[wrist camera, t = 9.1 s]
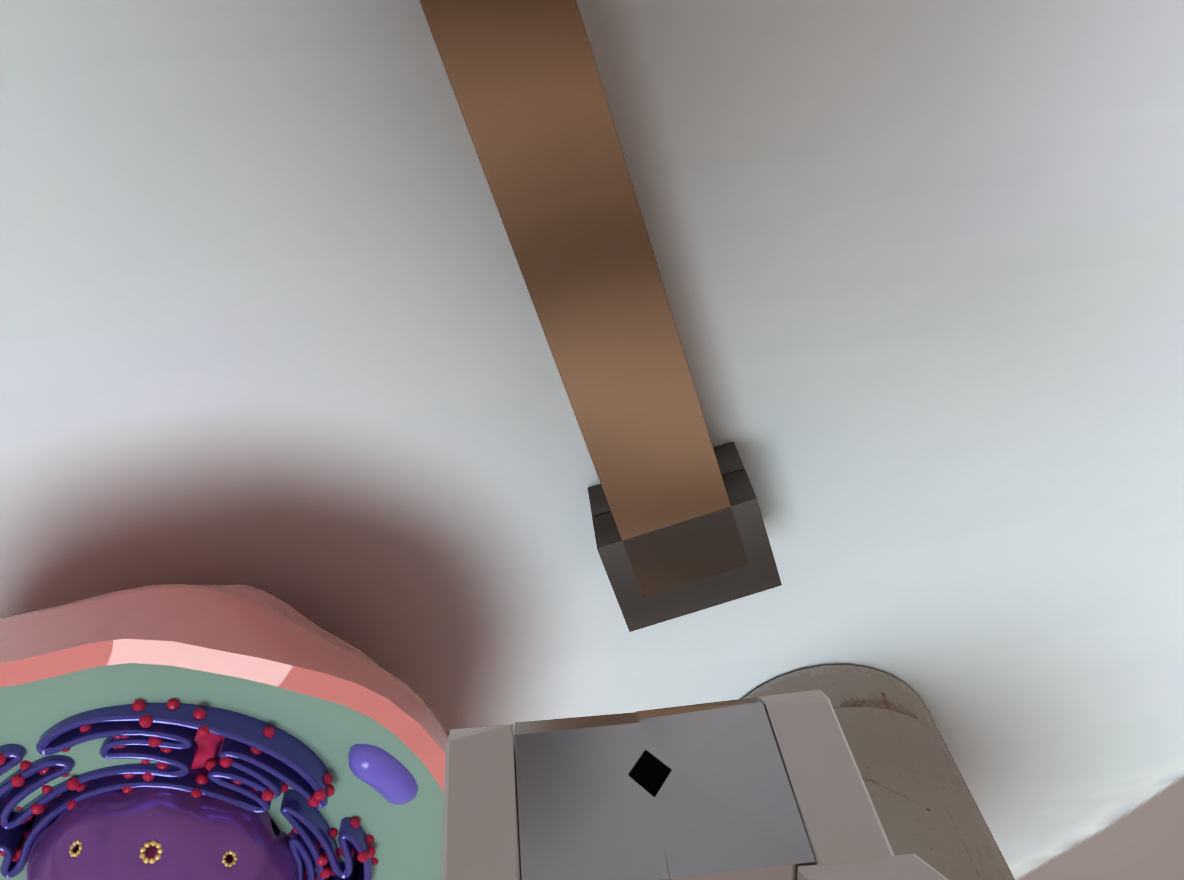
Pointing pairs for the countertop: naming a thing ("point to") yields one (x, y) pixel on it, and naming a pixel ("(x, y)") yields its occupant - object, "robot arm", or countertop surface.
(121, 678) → the cell model
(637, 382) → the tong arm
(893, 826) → the thermos bottle
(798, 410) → the countertop surface
